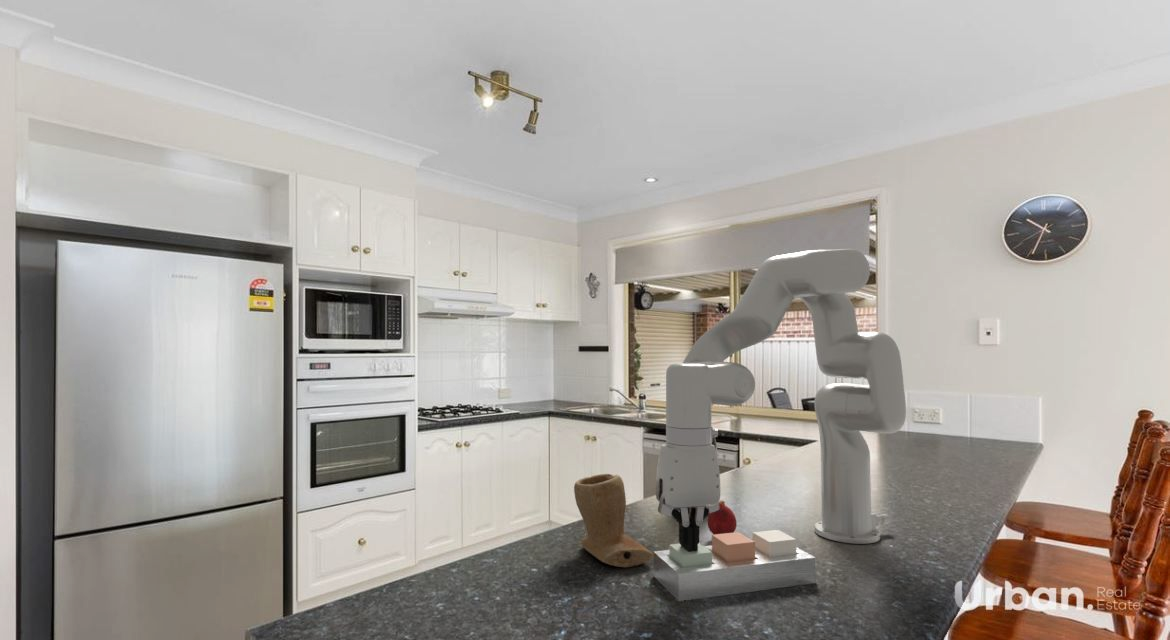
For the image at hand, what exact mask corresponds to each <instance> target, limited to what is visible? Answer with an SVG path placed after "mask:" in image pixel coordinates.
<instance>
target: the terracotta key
mask: <svg viewBox="0 0 1170 640" xmlns="http://www.w3.org/2000/svg"><path fill="white" fill-rule="evenodd" d="M711 545H712V553H714V554H715V555H716V556H718V557H719V558H721V559H722V560H723V561H725V562H726V563H729V562H737V561H746V560H754V559H755V542H754V541H753V539H751V538H749V537H747V536H746V535H744V534H742V533H741V532H739V531H737V532H735V531H734V533H725V534H715V535H713V534H711Z"/></svg>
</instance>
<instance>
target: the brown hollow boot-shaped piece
mask: <svg viewBox="0 0 1170 640" xmlns="http://www.w3.org/2000/svg"><path fill="white" fill-rule="evenodd" d="M573 493H574V498H575V504H576V506H577V508H578V511H579V513H580V516H581V517H582V520H583V523H584V526H585V529H586V533H587V536H586V537H584V538H582V539H581V545H582V547H583V548H584V550H585V551H587V552H588V553H589V554H590V555H592V556H593V557H595V558H596V559H597V560H599V561H600V562H602V563H604V564H607V565H609V566H614V567H618V568H631V567H635V566H639V565H642V564H644V563H647V562H650V560H652V559H654V555H653V552H652V551H651V550H649V549H648V548H646V547H645V546H644V545H642V544H641V543H639V542H638V541H636V540H634V539H633V538H632V537H630V536H629V535H626V533H625V525H624V524H625V517H626V516H625V515H626V506H627V501H626V499H627V498H626V491H625V484H624V480H623V478H622V477H621V476H620V475H619V474H615V475H613V474H611V473H603V474H602V473H601V474H595V475H592V476H586V477H582V478H579V479H578V480H577V481H575V483H574V487H573Z"/></svg>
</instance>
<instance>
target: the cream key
mask: <svg viewBox="0 0 1170 640" xmlns="http://www.w3.org/2000/svg"><path fill="white" fill-rule="evenodd" d="M752 540H753V541H754V542H755V549H756V550H757V551H759V552H761V553H762V554H764V555H766V556H767V557H769V558H771V557H780V556H788V555H797V553H796V547H797V539H796V538H794V536H793V537H792V536H791V535H789V534H787V533H785V532H783V531H781V530H779V529H774V530H773V529H772V530H763V531H754V532H753V531H752Z"/></svg>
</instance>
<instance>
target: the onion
mask: <svg viewBox="0 0 1170 640" xmlns="http://www.w3.org/2000/svg"><path fill="white" fill-rule="evenodd" d="M707 528H708V529H709V531H710V532H711V535H715V534H725V533H735V531H736V529H737V519H736V516H735V513H734V512H733V510H732V509H731V508H730V507H728V506H727V505H726V503H725V501H724V500H721V499H720V501H719V510H718V511H715V512H712V513H709V515H707Z"/></svg>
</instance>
